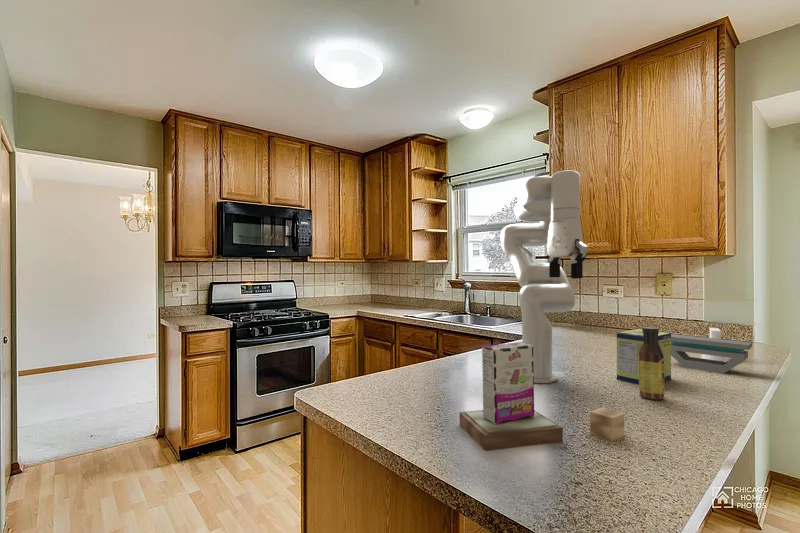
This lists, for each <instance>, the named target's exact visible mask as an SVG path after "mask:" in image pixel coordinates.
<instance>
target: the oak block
mask: <svg viewBox="0 0 800 533" xmlns="http://www.w3.org/2000/svg"><path fill="white" fill-rule="evenodd" d="M589 412H590V414H589V417H590V418H589V420H590V423H589V424H590V426H589V427H590V429H589V433H590V435H594V436H596V437H599V438H602V439H605V440H607V441H610V442H614V441H616V440H619V439H621V438H622V437H624V436H625V413H624V412H620V411H617V410H614V409H610V408H606V407H603V406H602V407H599V408H597V409H594V410H591V411H589Z"/></svg>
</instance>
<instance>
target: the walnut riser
mask: <svg viewBox="0 0 800 533" xmlns="http://www.w3.org/2000/svg"><path fill="white" fill-rule="evenodd" d="M459 426H460V427H461V428H462V429H463V430H464V431H465V432H466V433H467V434H468V435H469V436H470V437H471V438H472V439H473V440H474V441H475V442H476V443H477V444H478V445H479V447H481V448H482V449H483V450H484V451H485V452H487V451H495V450H503V449H511V448H518V447H519V448H521V447H529V446H538V445H547V444H555V443H556V444H557V443H563V442H564V428H563V426H561V425H559V424H557V423H556V422H555V421H552V419H550V418H548V417H546V416H545V415H543V414H541V413H540V412H539V411H537V410H535V409H534V416H533V417H529V418H525V419H520V420H516V421H511V422H507V423H502V424H494V423H492V422H490V421H488V420H486V419H485V418H484V417H483V409H478V410H467V411H459Z"/></svg>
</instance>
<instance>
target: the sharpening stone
mask: <svg viewBox="0 0 800 533" xmlns="http://www.w3.org/2000/svg"><path fill="white" fill-rule="evenodd" d="M752 347H753V341H751V342H750V341H743V340H733V339H723V338H721V339H716V338H709V337H705V336H695V335H685V334H676V333H671V358H673V359H674V360H676V362H678V364H680V365H681V366H682V367H683V369H691V370H696V371H697V370H698V371H702V370H703V372H704V371H705V372H708V373H715V372H716V374H725V373H727V372H729V371H730V370H732V369H734V368H735V367H737V366H738V365H740V364H742V363H743V362H745V361H746V360H747V359H748V358H749V350H750V349H752ZM688 353H692V354H699V355H701V354H706V355H713V356H721V357H729V361H728V362H724V361H716V360H709V359H702V358H701V357H700V358H699V357H693V356H690V355H688ZM730 358H731V359H730Z"/></svg>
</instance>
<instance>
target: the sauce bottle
mask: <svg viewBox="0 0 800 533" xmlns="http://www.w3.org/2000/svg"><path fill="white" fill-rule="evenodd" d="M641 329H642V332H643V345H642V346H641V348H640V350H639V384H638V390H639V395H640V396H641V397H642V398H645V399H647V400H653V401H654V400H657V401H659V400H663V399H664V398H665V388H666V387H665V381H664V356H663V353H662V350H661V348H660V345H659V342H658V334H659V332H660V331H659V328H658V327H653V326H652V327H651V326H644V327H642V328H641Z"/></svg>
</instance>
